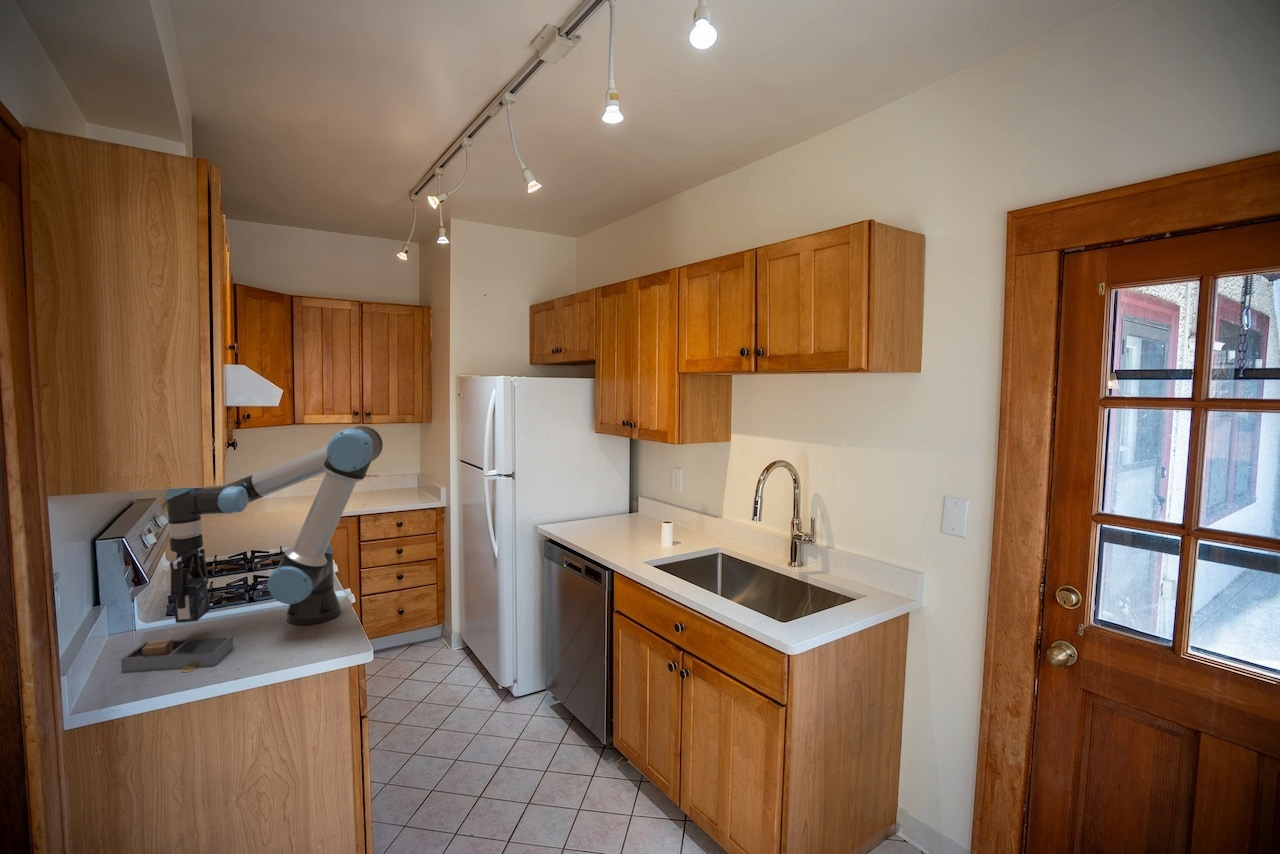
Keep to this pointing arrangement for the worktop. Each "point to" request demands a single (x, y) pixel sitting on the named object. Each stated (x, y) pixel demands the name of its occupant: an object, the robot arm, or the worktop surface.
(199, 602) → the box
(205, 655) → the tray
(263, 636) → the worktop surface
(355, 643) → the worktop surface
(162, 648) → the nut block
